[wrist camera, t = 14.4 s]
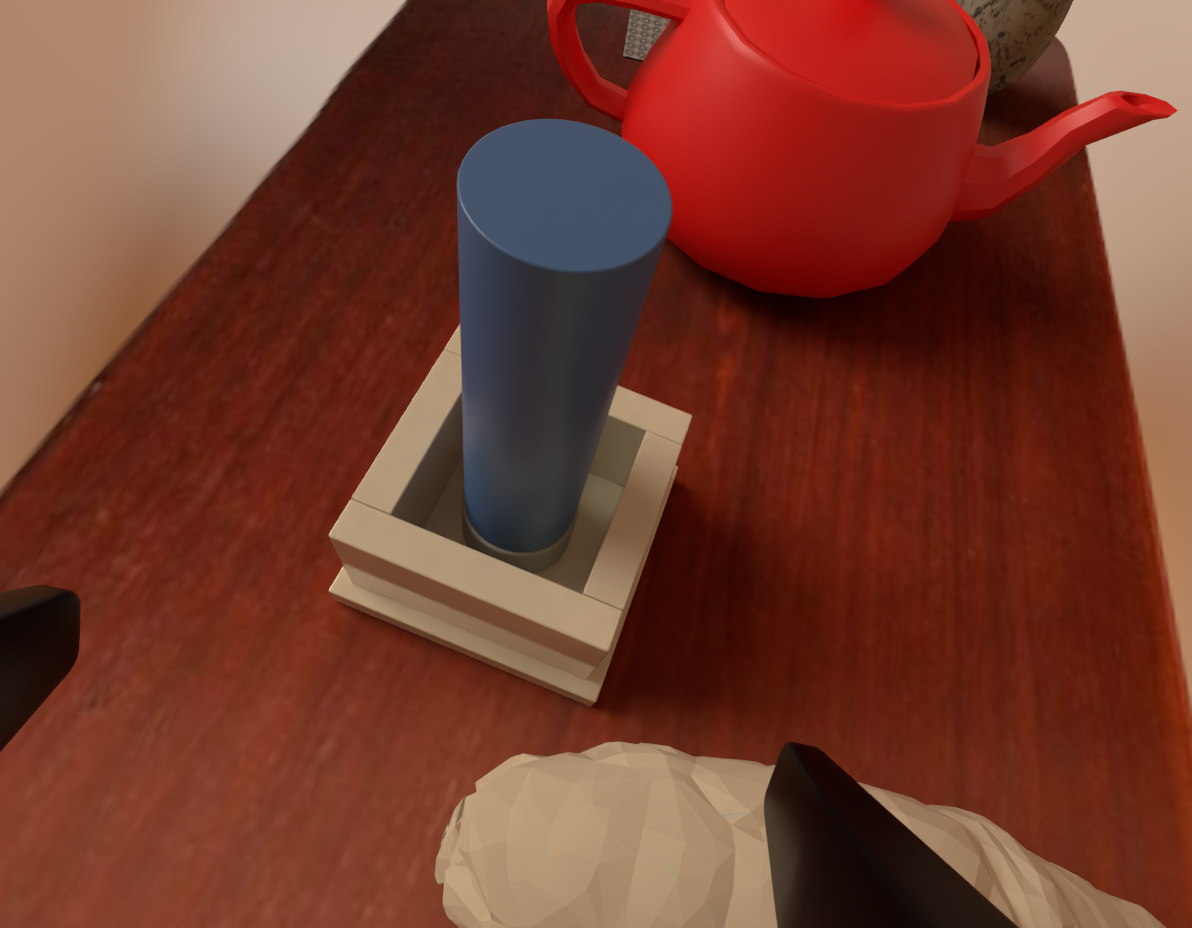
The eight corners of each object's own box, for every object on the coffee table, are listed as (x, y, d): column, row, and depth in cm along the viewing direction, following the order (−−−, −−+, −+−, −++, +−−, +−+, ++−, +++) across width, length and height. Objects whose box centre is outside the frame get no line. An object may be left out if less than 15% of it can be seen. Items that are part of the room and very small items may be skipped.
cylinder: (527, 599, 22) (595, 318, 10) (438, 532, 23) (399, 188, 10) (592, 516, 24) (719, 190, 12) (508, 456, 24) (544, 85, 12)
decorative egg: (922, 113, 40) (1046, -84, 32) (901, 52, 43) (1009, -144, 34) (1013, 127, 41) (1158, -61, 32) (986, 66, 44) (1113, -121, 35)
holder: (591, 708, 22) (621, 678, 17) (333, 600, 22) (298, 544, 18) (672, 478, 26) (712, 408, 22) (456, 390, 26) (452, 305, 22)
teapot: (490, 256, 30) (501, -58, 19) (568, 57, 37) (606, -248, 27) (1028, 402, 31) (1319, 181, 20) (997, 179, 38) (1198, -67, 28)
